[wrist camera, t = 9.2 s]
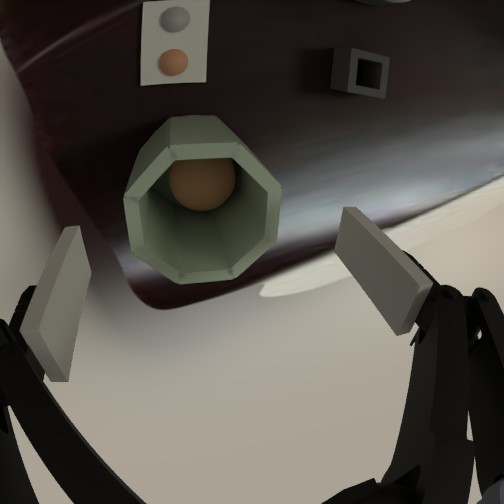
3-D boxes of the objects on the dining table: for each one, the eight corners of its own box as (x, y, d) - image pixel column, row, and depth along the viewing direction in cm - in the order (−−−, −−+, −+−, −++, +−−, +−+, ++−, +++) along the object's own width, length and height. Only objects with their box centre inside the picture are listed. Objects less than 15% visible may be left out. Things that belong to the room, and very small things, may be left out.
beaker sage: (138, 118, 22) (117, 150, 14) (245, 114, 24) (286, 142, 16) (145, 215, 27) (138, 287, 19) (241, 208, 29) (272, 274, 21)
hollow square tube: (333, 47, 22) (351, 47, 20) (370, 55, 23) (389, 57, 20) (330, 88, 24) (347, 92, 22) (366, 94, 25) (385, 98, 22)
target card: (143, 3, 17) (143, 1, 16) (209, 0, 18) (210, -1, 18) (141, 85, 21) (140, 85, 20) (205, 82, 22) (206, 82, 21)
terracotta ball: (160, 142, 22) (177, 158, 19) (220, 135, 24) (249, 150, 21) (163, 201, 25) (180, 228, 22) (219, 191, 27) (245, 215, 24)
